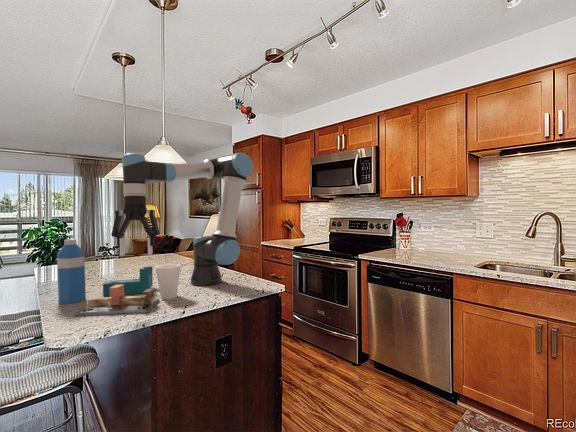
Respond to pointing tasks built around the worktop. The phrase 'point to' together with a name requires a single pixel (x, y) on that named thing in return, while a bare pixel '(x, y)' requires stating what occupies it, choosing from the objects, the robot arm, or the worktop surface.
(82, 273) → the water bottle
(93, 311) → the bolt plate
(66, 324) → the worktop surface
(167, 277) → the foam cup
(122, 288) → the sliding jaw
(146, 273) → the teal l-shaped bracket
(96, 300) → the beam gauge
